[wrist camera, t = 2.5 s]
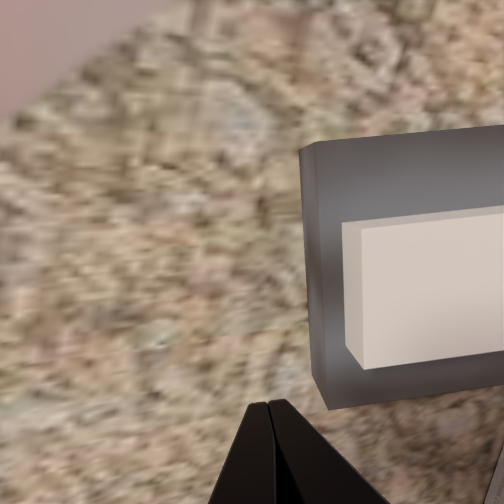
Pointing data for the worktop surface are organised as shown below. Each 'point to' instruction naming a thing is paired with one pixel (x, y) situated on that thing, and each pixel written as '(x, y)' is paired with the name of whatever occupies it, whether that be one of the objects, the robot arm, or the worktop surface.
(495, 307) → the tile
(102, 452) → the worktop surface
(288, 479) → the robot arm
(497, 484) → the supplement box
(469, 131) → the plate
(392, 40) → the worktop surface
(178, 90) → the worktop surface
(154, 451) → the worktop surface
